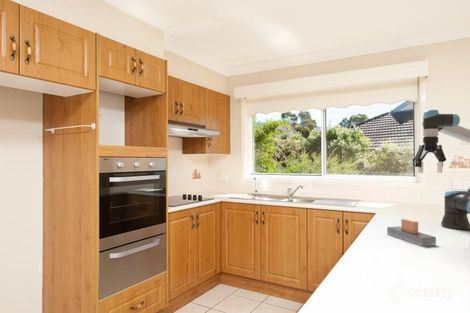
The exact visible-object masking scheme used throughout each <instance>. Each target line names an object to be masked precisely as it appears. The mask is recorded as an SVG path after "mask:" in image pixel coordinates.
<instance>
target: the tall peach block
mask: <svg viewBox="0 0 470 313" xmlns="http://www.w3.org/2000/svg"><path fill="white" fill-rule="evenodd" d="M400 222H401V225H400V227H401V230H402V231H406V232H409V233H412V234H418V232H419V221H417V220H412V219H408V218H401V221H400Z"/></svg>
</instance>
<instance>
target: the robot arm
mask: <svg viewBox="0 0 470 313" xmlns="http://www.w3.org/2000/svg"><path fill="white" fill-rule="evenodd" d="M460 122H461V118H460V116H459V115H458V114H456V113H439V110H438V109H427V110H424V112H423V116H422V125H421V126H422V128H423V129H422V130H423V131H422V135H423V137H422V143H423V144H419V146H418V150H417V151H416V154H415V157H414V161H416V162H417V167H418V168H417V169H418V170H417V172H418V173H419V174H423V173H424V159H425V157H426V156H427V155H428V153H431V154H433V155H434V156H435V158H436V160H438V161H437V164H436V166H437V168H436V169H437V170H436V172H437V173H438V174H442V173H443V167H444V162H446V161H447V158H446V155H445V153H444V150H443V145H442V144H438V143H439V137H438V136H439V133H441V134H444V135H448V136H450V137H452V138H455V139H458V140H460V141H464V142H466V143H468V144H470V129H469V128H466V127H463V126H462V125H461V126H460V125H459V124H460ZM443 197H444V214H443V217H442V220H441V222H440V226H441V227H443V228H446V229H452V230H459V231H462V230H463V231H466V230H467V231H468V230H470V221H469V217H468V215H470V187H469V188H468V189H467V190H446V191H445V192H444V196H443Z"/></svg>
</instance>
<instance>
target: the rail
mask: <svg viewBox="0 0 470 313" xmlns="http://www.w3.org/2000/svg"><path fill="white" fill-rule="evenodd" d="M387 235H389V236H392V237H395V238H398V239H400V240H403V241H406V242H410V243H413V244H415V245H418V246H421V247H429V246H431V247H432V246H437V237H436V236H434V235H430V234H426V233H423V232H419V231H418V234H412V233H409V232H406V231H402V230H401V225H400V226H387Z"/></svg>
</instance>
